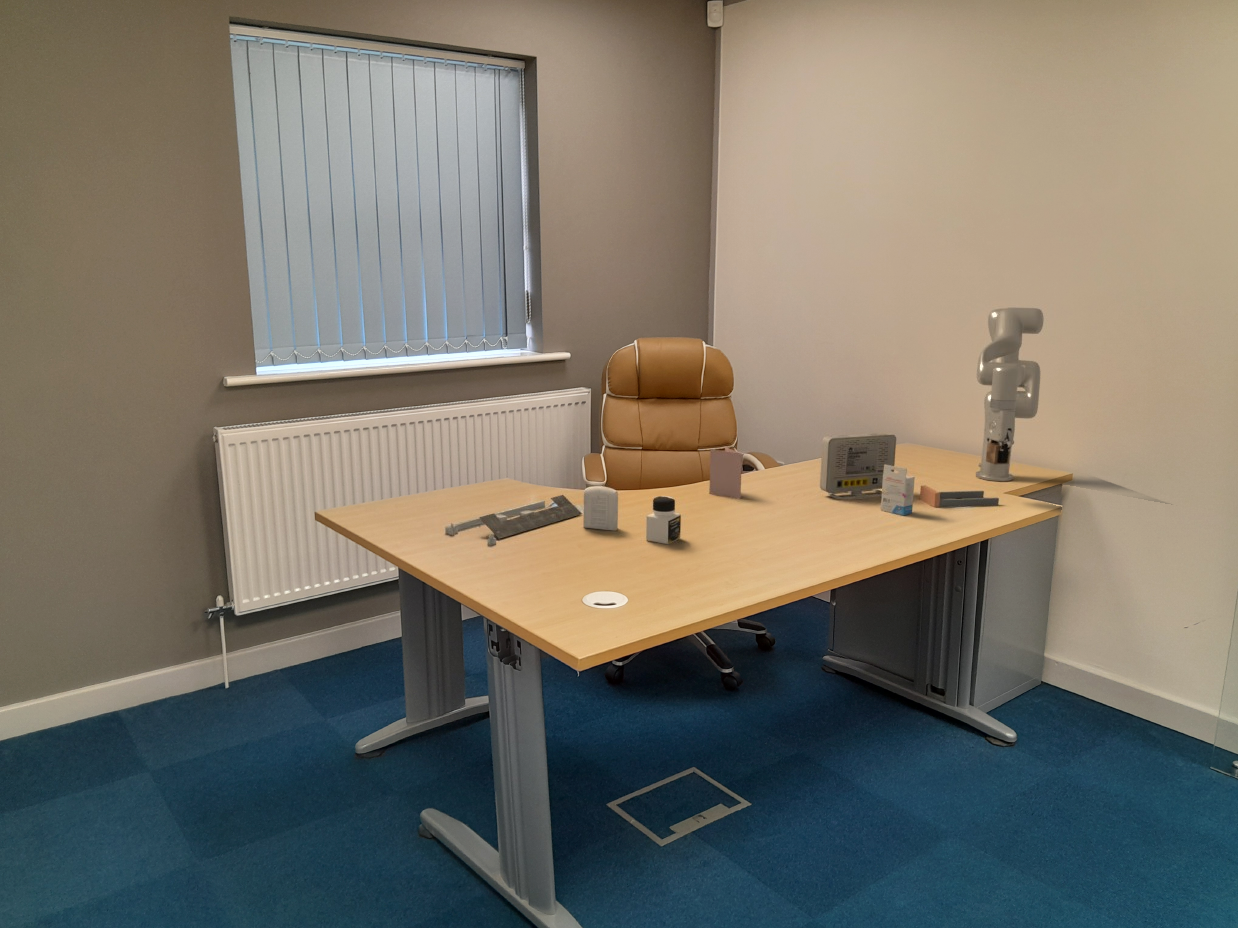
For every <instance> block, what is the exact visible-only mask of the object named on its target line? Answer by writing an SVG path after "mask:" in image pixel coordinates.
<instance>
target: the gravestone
mask: <svg viewBox="0 0 1238 928" xmlns="http://www.w3.org/2000/svg"><path fill="white" fill-rule="evenodd" d="M583 506H584V515H583V523H582V524H583V528H585V529H587V528H588V529H594V530H595V529H597V530H603V531H604V530H605V531H617V530H618V524H619V493H618V491H617V490H616V489H614V488H611V487H608V486H604V485H603V486H601V485H598V486H597V485H596V486H589V487H586V488H585V489H584V492H583Z"/></svg>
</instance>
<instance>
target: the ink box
mask: <svg viewBox="0 0 1238 928" xmlns="http://www.w3.org/2000/svg"><path fill="white" fill-rule="evenodd" d="M891 470H894V472H892V471H891ZM895 470H896V471H898V472H896V471H895ZM907 471H908V470H907V468H906V467H905V468H904V467H899V466H896V465H894V466H890V465H884V474H883V484H882V489H881V491H882V496H881V502H880V510H881V511H882V512H887V513H891V514H896V515H899V516H906V515H910V514H912V513H913V504H914V492H915V491H914V490H915V477H916V476H912V475H908V474H907Z"/></svg>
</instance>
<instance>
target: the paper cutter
mask: <svg viewBox="0 0 1238 928" xmlns="http://www.w3.org/2000/svg"><path fill="white" fill-rule="evenodd" d="M550 500H551V501H550V502H549V503H547V504H546V500H539V501H536V502H532V503H529V504H528V503H527V504H524V505H520V506H517V507H513V508H509V509H505V510H502V511H499V512H495V513H488V514H487V515H483V516H479V517H476V518H473V519H468V520H465V521H461V522H457V523H450V525H447V526H445V527H444V528H445V534H446V535H450V536H456V534H458V533H461V532H465V531H467V530H472V529H475V528H478V527H482V526H486V527H487V528H488V529H489V531H491V532H492V533H491V534H489V535H488V539H487V545H488V546H494V545H496V544H497V539H503V538H506V537H509V536H513V535H516V534H517V535H518V534H519V533H523V532H526V531H529V530H530V531H531V530H532V529H536V528H540V527H543V526H546V525H549V524H554V523H556V522H559V521H564V520H566V519H570V518H574V517H576V516H579V515H583V516H584V505H577V504H573V503H572V502H571V501H570V500H569V499H568V498H567V497H566V496H565V495H564V494H561V495H557V496H552V497H550ZM545 508H546V509H545ZM538 510H539V511H538Z"/></svg>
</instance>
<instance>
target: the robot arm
mask: <svg viewBox="0 0 1238 928" xmlns="http://www.w3.org/2000/svg"><path fill="white" fill-rule="evenodd" d="M1044 319H1045V318H1044V313H1043V311H1042V310H1041V309H1040V308H1036V307H1004V308H997V309H992V310H991V311H990V312H989V314H988V316H987V325H988V332H989V336H990V338H991V342H990V343H988V344H987V345H986V346H985V347H984V348H983V349H982V351H981V352H980V354H979V357H978V359H977V360H978V361H977V369H976V379H977V382H978V384H981V386H988V387H989V386H991V390H990V391H989V392H987V393H986V394H985V396H984V401H983V402H984V403H983V405H984V428H983V431H984V432H983V441H982V452H981V462H979V463H978V464H977V465H978V467H979V468H980V470H979V471H976V472H975V477H976V478H979V479H982V480H986V481H994V482H1008V481H1009V482H1010V481H1012V480H1013V479H1014V475H1013V474H1012V473H1010V465H1011V456H1012V446H1013V445H1014V444H1015V441H1014V437H1015V427H1016V419H1027V420H1028V419H1032V418H1033V419H1034V418H1035V417H1036V416H1037V412H1038V409H1039V401H1040V400H1039V399H1040V398H1039V397H1040V388H1041V387H1040V386H1041V367H1040V365H1039V363H1038V362H1036V361H1034V360H1023V359H1021V360H1020V358H1019V356H1020V349H1021V347H1022V345H1023V334H1026V335H1028V334H1031V335H1037V334H1040V333H1041V332H1042V330H1043V326H1044V321H1045V320H1044ZM1018 388H1022V389H1024V391H1023V390H1018ZM987 443H999V444H1000V451H998V460H997V462H998V463H1007V462H1008V452H1009V451H1010V457H1009V464H995V465H994V464H992V463H989V462H987V461H986V454H987ZM1003 443H1004V444H1005V445H1004V446H1003Z"/></svg>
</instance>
